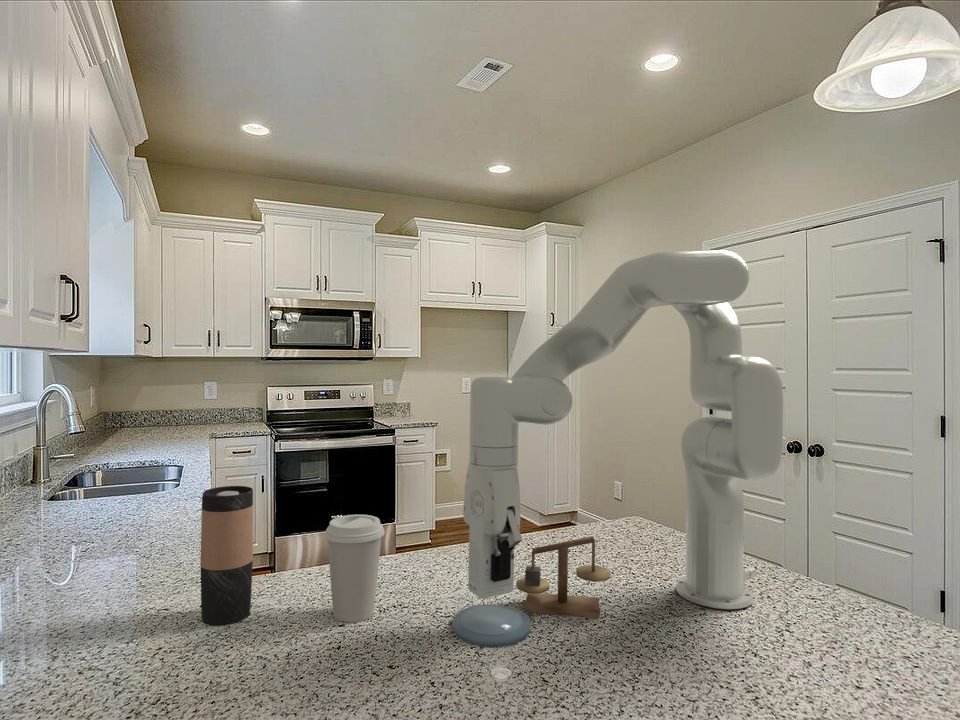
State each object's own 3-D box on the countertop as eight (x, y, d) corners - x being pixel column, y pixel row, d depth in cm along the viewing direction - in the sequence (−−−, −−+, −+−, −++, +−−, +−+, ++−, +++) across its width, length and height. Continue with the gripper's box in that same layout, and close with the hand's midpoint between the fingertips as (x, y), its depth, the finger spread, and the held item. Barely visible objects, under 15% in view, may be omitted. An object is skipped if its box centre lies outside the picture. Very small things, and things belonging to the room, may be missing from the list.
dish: (502, 604, 96) (502, 597, 96) (546, 634, 86) (546, 626, 86) (439, 620, 90) (439, 613, 90) (477, 654, 80) (477, 646, 80)
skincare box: (482, 600, 85) (483, 518, 85) (466, 589, 88) (467, 511, 88) (515, 591, 88) (516, 513, 88) (499, 582, 92) (500, 506, 92)
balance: (609, 604, 97) (609, 532, 97) (611, 619, 91) (612, 542, 91) (517, 597, 99) (518, 527, 99) (514, 611, 94) (515, 536, 94)
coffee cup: (362, 596, 99) (363, 510, 99) (395, 614, 92) (396, 521, 92) (312, 612, 92) (313, 520, 93) (343, 633, 86) (344, 533, 86)
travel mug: (262, 609, 93) (264, 487, 93) (227, 630, 86) (229, 498, 86) (225, 602, 96) (226, 484, 96) (188, 622, 89) (190, 493, 89)
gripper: (447, 450, 94) (445, 561, 94) (502, 467, 79) (500, 599, 79) (486, 447, 97) (484, 554, 97) (546, 463, 83) (544, 588, 83)
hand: (491, 573), depth 88 cm, fingers closed on skincare box, 4 cm apart
